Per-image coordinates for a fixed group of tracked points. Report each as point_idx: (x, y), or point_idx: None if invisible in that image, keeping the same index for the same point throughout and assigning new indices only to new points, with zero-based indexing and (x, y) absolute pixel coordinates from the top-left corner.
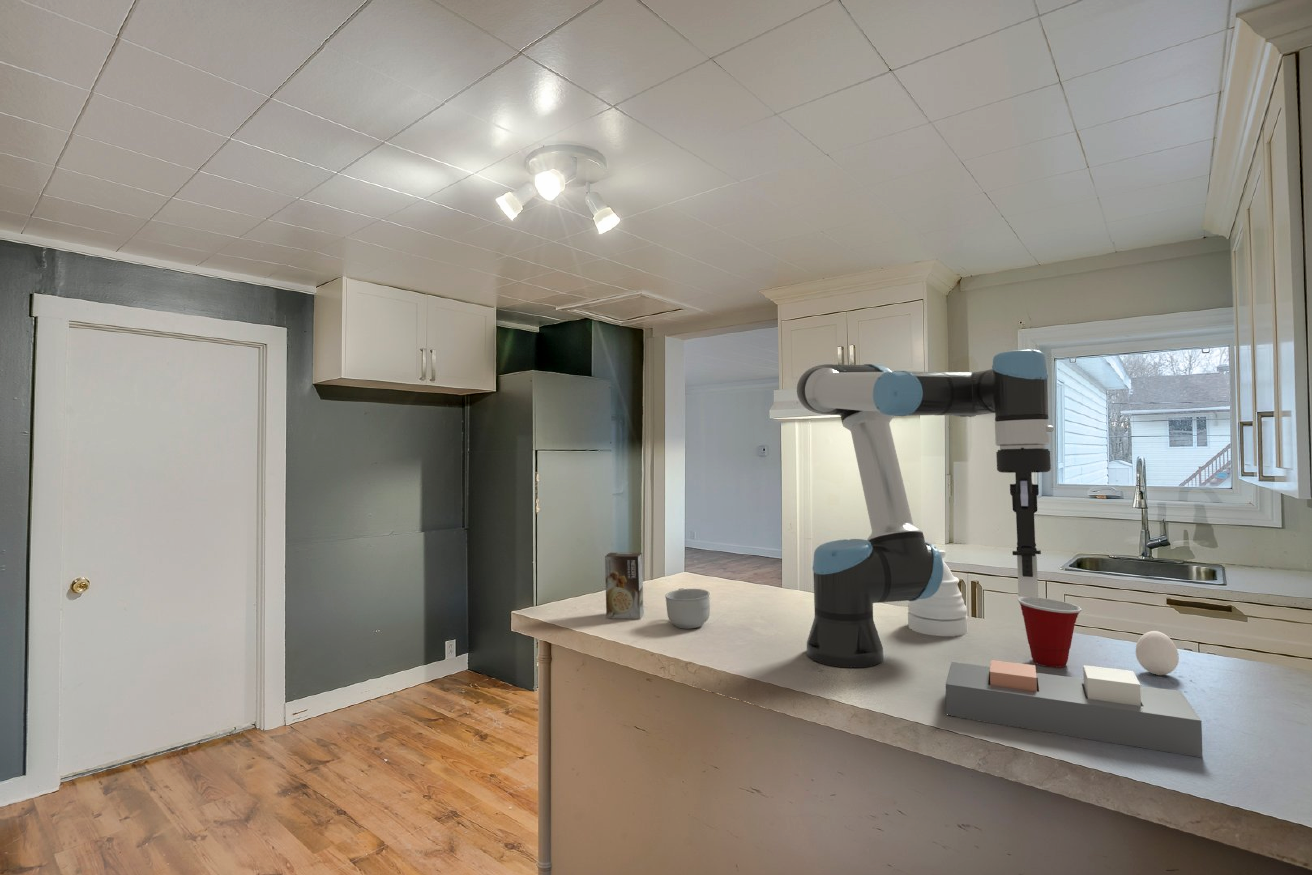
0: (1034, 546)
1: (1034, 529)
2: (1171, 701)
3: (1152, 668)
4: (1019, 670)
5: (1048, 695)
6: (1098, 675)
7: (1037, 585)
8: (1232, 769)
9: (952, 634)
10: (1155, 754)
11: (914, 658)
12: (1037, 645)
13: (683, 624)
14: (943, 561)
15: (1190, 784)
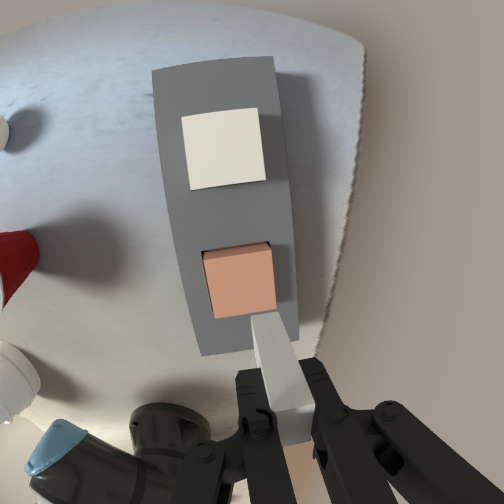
0: (413, 418)
1: (463, 459)
2: (209, 79)
3: (7, 137)
4: (246, 276)
5: (279, 228)
6: (242, 164)
7: (285, 332)
8: (280, 53)
9: (22, 355)
10: (283, 112)
11: (120, 381)
12: (28, 270)
13: None
14: None
15: (341, 95)
